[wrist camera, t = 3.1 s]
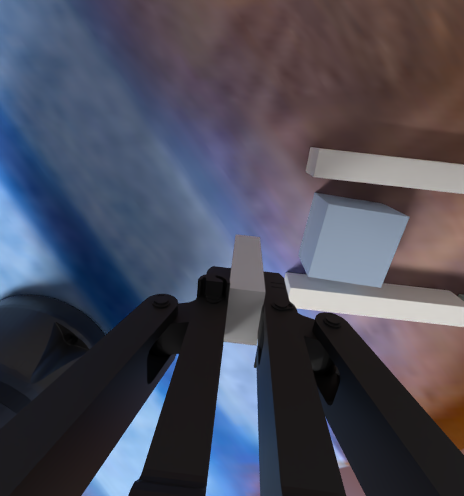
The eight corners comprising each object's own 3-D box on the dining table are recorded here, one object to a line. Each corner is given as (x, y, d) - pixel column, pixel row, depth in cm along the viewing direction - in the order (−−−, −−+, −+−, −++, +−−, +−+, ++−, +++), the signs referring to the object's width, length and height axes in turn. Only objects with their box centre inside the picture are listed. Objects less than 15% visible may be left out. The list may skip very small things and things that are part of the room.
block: (298, 254, 27) (307, 276, 23) (314, 192, 25) (328, 204, 21) (359, 264, 27) (380, 287, 23) (381, 202, 25) (409, 216, 21)
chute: (282, 290, 28) (286, 307, 25) (310, 147, 23) (319, 148, 20) (441, 307, 28) (463, 326, 25) (504, 168, 23) (540, 173, 20)
